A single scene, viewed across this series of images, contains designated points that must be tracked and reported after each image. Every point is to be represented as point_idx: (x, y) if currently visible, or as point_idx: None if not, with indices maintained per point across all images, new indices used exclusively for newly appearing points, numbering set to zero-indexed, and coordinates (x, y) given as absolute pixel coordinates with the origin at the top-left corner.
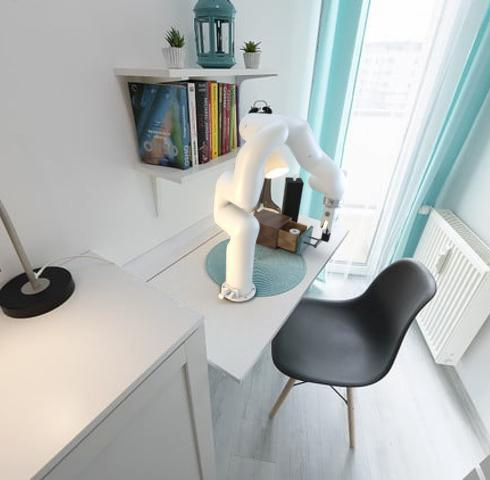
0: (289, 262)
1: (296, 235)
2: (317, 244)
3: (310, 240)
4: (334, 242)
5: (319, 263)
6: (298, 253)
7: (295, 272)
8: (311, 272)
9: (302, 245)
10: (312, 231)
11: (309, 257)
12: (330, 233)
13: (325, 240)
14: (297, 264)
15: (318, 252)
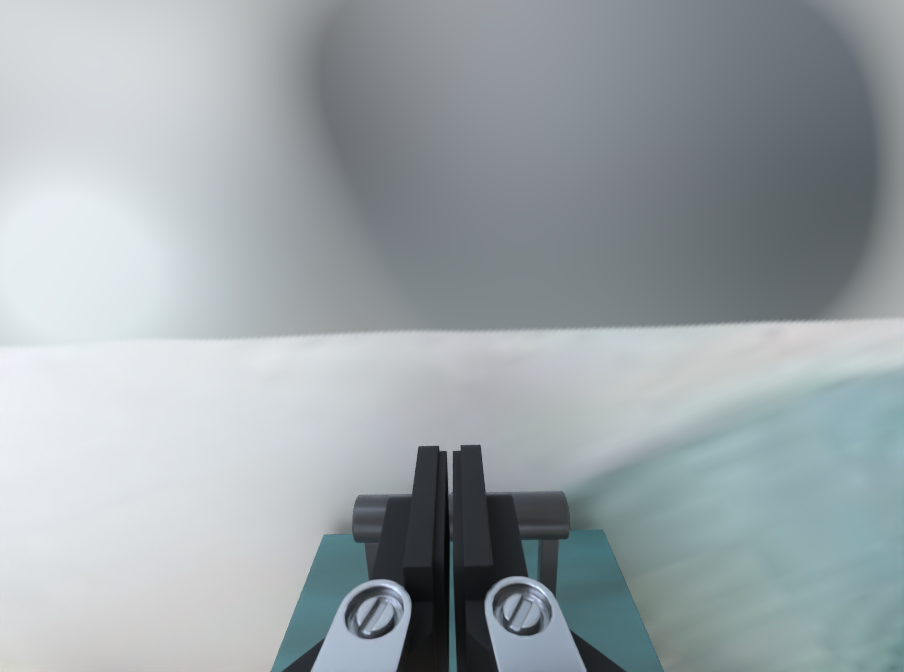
0: (715, 537)
1: None
2: (525, 513)
3: (325, 559)
4: (99, 361)
5: (590, 342)
6: (608, 549)
7: (842, 450)
8: (781, 346)
9: (572, 603)
10: (275, 665)
11: (544, 447)
12: (426, 563)
13: (510, 496)
14: (712, 482)
15: (406, 417)
